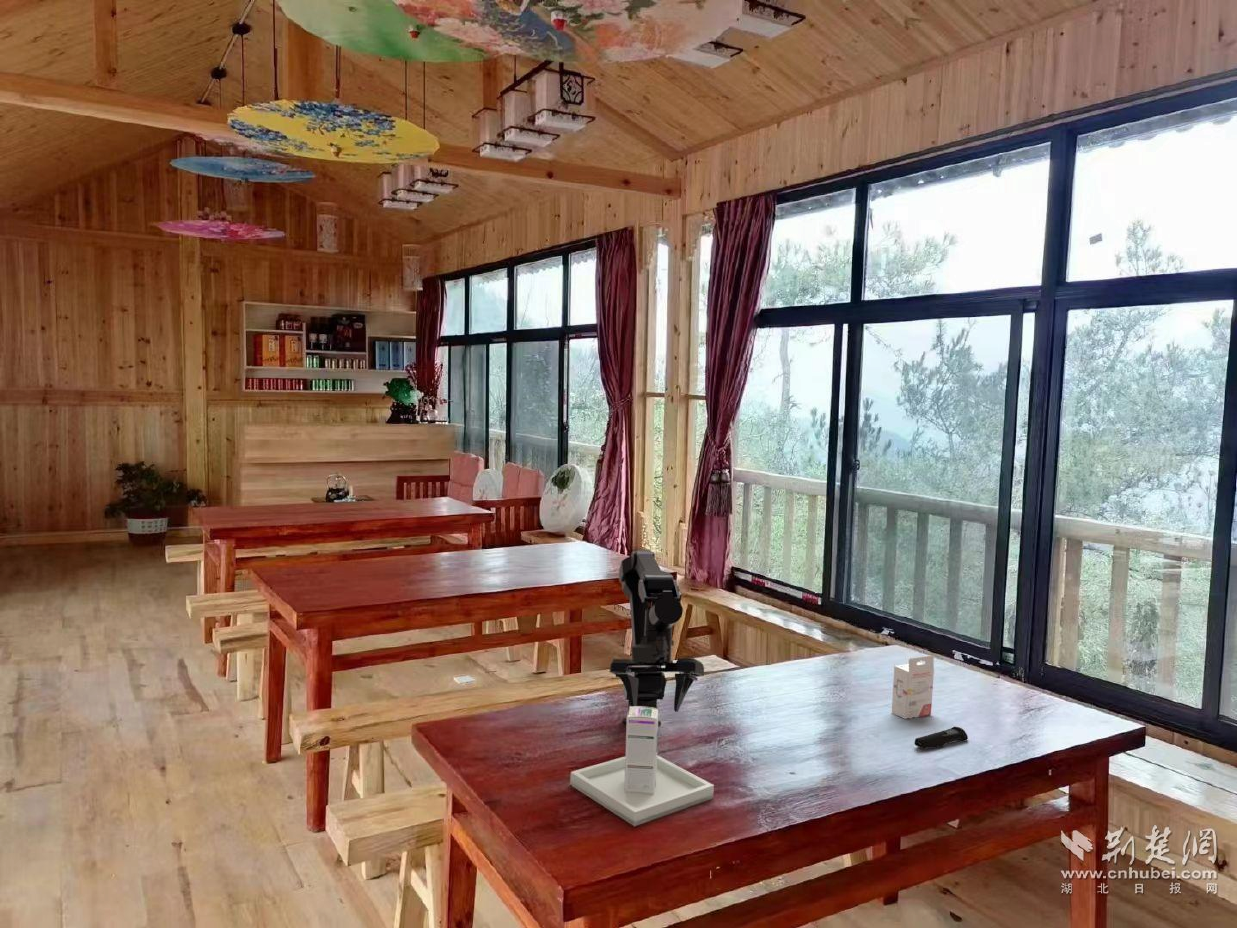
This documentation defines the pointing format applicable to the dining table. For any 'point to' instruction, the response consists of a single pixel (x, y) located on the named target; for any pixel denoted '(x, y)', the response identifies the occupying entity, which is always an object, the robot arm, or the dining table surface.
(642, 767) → the syrup box
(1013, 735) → the dining table surface
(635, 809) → the tray
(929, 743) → the electric trimmer
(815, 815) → the dining table surface
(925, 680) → the ink cartridge box
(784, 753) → the dining table surface
